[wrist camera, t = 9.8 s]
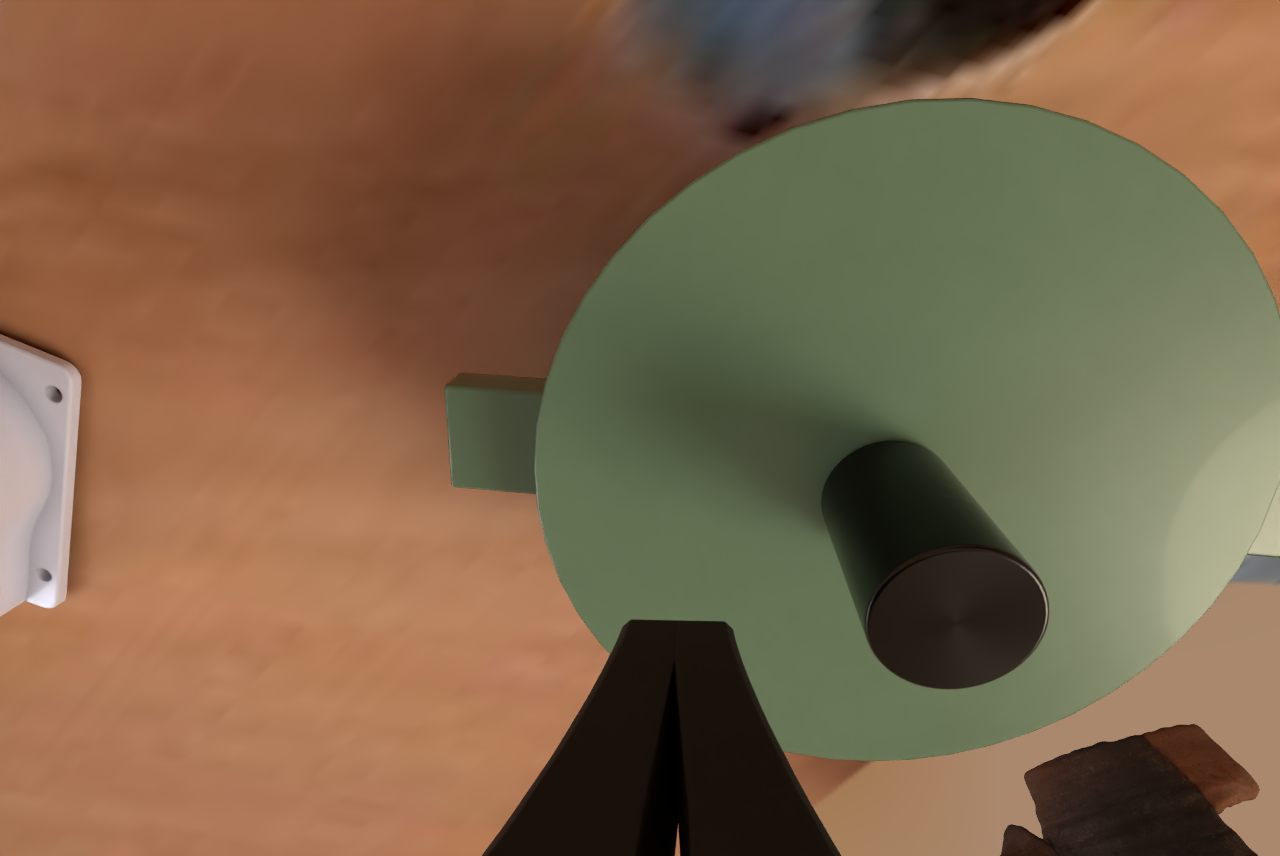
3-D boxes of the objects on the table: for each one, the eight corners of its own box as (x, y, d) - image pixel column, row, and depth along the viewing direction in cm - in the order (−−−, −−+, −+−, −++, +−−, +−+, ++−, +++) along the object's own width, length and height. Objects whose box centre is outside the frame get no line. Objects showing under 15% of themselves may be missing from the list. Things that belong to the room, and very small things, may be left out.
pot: (1096, 615, 19) (1234, 770, 14) (512, 561, 20) (451, 687, 15) (1267, 169, 15) (1562, 169, 10) (500, 131, 16) (407, 113, 11)
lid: (1108, 751, 15) (1272, 984, 11) (547, 693, 16) (490, 888, 12) (1381, 124, 10) (1895, 88, 6) (543, 86, 11) (440, 30, 7)
